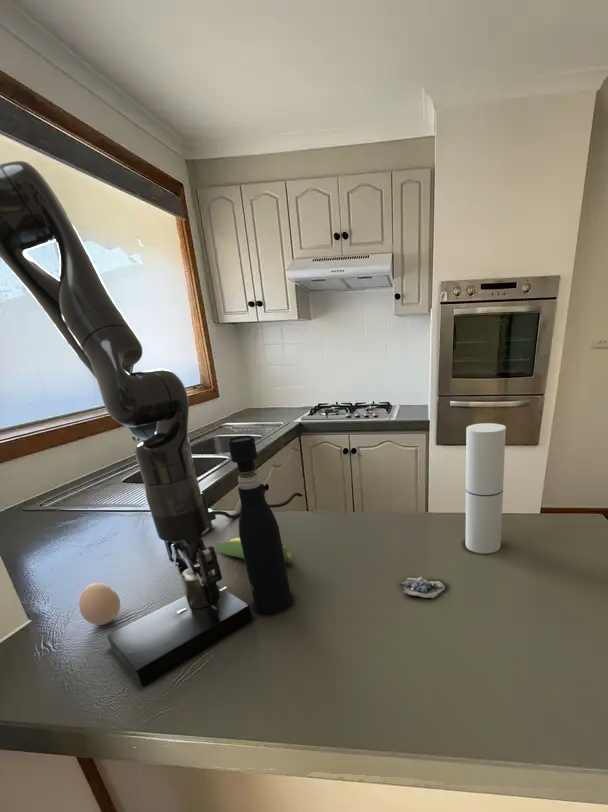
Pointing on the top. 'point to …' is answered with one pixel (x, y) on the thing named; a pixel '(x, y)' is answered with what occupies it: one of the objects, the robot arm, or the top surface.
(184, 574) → the stove knob
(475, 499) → the cylindrical container
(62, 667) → the top surface
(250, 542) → the dark water bottle
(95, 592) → the egg
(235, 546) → the edible corn
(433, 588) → the blueberries
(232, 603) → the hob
